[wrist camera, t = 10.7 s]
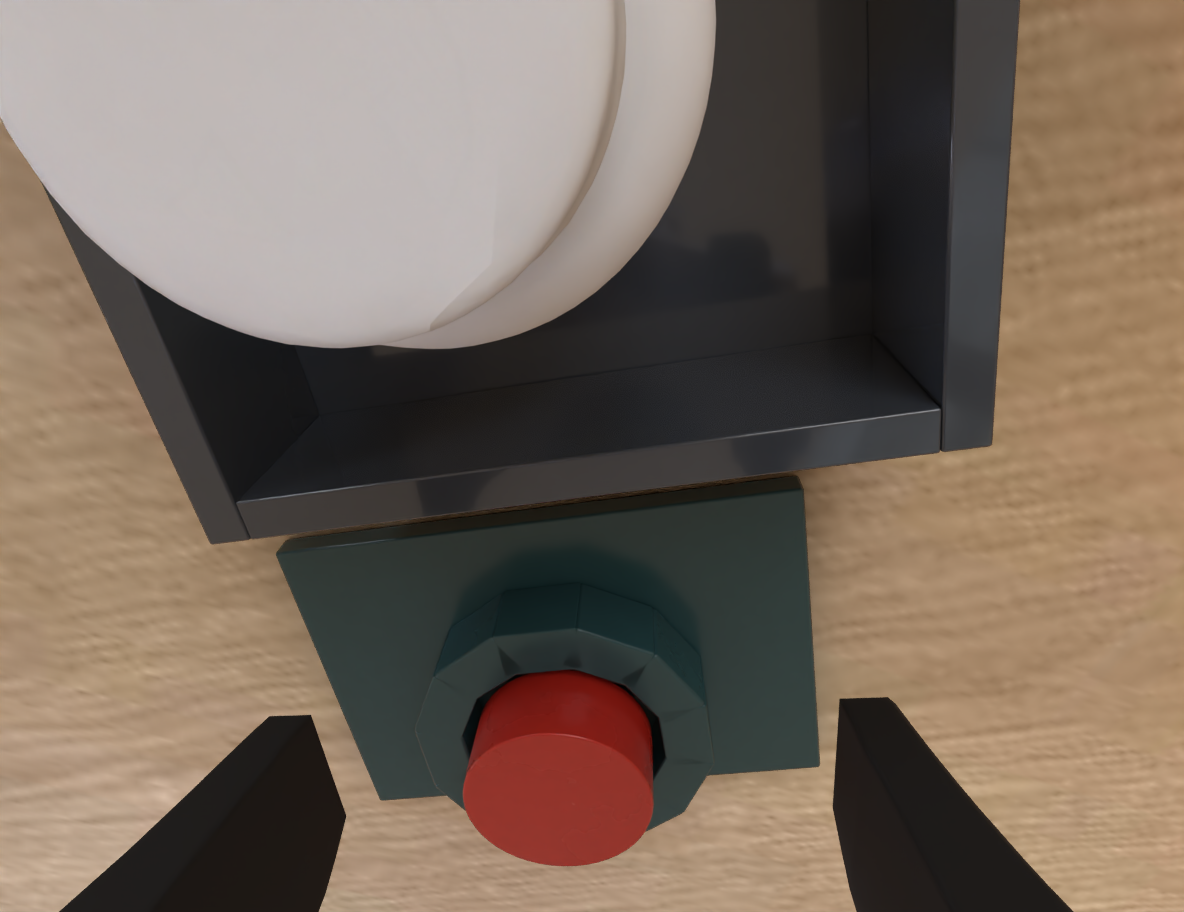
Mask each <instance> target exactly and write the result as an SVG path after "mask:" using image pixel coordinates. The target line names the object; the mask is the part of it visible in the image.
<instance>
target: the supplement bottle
mask: <svg viewBox="0 0 1184 912" xmlns="http://www.w3.org/2000/svg"><path fill="white" fill-rule="evenodd" d="M715 33H716V7H715V0H0V118H1V120H2V122H3V124H4V126H5V128H6V130H7V131H8V133H9V134H10V136H11V137H12V139H13V141H14V142H15V144H16V145H17V147H18V148H19V150H20V151H21V153H22V154H23V156H24V157H25V159H26V160H27V161H28V163H29V164H30V166H31V167H32V169H33V170H34V171H35V173H36V174H37V176H38V177H39V179H40V180H41V182H42V183H43V184H44V186H45V187H46V189H47V190H48V192H49V193H50V194H51V195H52V197H53V198H54V199H55V200H56V201H57V202H58V203H59V205H60V206H61V207H62V208H63V209H64V210H65V212H66V213H67V214H68V215H69V216H70V217H71V218H72V220H73V221H74V222H75V223H76V224H77V225H78V226H79V228H80V229H81V230H82V231H83V232H84V233H85V234H86V235H87V236H88V237H89V238H90V239H91V240H93V241H94V242H95V243H96V244H97V245H98V246H99V247H101V248H102V249H103V250H104V251H105V252H106V253H107V254H108V255H110V256H111V257H112V258H113V259H114V260H115V261H116V262H117V263H119V264H120V265H121V266H122V267H124V268H125V269H126V270H128V271H129V272H130V273H132V274H133V275H134V276H136V277H137V278H139V279H140V280H141V281H143V282H144V283H145V284H147V285H148V286H149V287H151V288H152V289H154V290H156V291H157V292H159V293H160V294H162V295H164V296H165V297H167V298H168V299H170V300H172V301H173V302H175V303H176V304H178V305H180V306H182V307H184V308H186V309H188V310H190V311H192V312H194V313H196V314H198V315H200V316H202V317H204V318H207V319H209V320H211V321H214V322H216V323H219V324H221V325H223V326H226V327H228V328H231V329H234V330H236V331H239V332H242V333H245V334H248V335H252V336H255V337H258V338H262V339H267V340H271V341H276V342H280V343H284V344H290V345H302V346H312V347H321V348H350V347H362V346H373V345H386V346H394V347H403V348H422V349H452V348H460V347H468V346H475V345H479V344H484V343H488V342H493V341H497V340H501V339H504V338H508V337H511V336H515V335H518V334H521V333H523V332H526V331H528V330H531V329H533V328H536V327H538V326H540V325H542V324H544V323H547V322H549V321H551V320H553V319H555V318H557V317H558V316H560V315H562V314H564V313H565V312H567V311H569V310H571V309H572V308H574V307H575V306H577V305H578V304H580V303H581V302H583V301H584V300H585V299H587V298H588V297H590V296H591V295H592V294H594V293H595V292H596V291H598V290H599V289H600V288H601V287H602V286H603V285H604V284H605V283H607V282H608V281H609V280H610V279H611V278H612V277H613V276H614V275H616V274H617V273H618V272H619V271H620V270H621V269H622V268H623V266H624V265H625V264H626V263H627V262H628V261H629V260H630V259H631V258H632V256H633V255H634V254H635V253H636V252H637V251H638V250H639V248H640V247H641V246H642V244H643V243H644V242H645V240H646V239H647V238H648V237H649V235H650V234H651V233H652V231H653V230H654V229H655V227H656V226H657V224H658V223H659V221H660V219H661V218H662V216H663V214H664V213H665V211H666V209H667V208H668V206H669V204H670V202H671V200H672V198H673V196H674V194H675V192H676V190H677V188H678V186H679V184H680V182H681V180H682V178H683V176H684V173H685V171H686V169H687V167H688V165H689V163H690V160H691V157H692V154H693V151H694V148H695V145H696V142H697V139H698V137H699V134H700V130H701V126H702V122H703V119H704V115H705V111H706V107H707V102H708V96H709V90H710V85H711V79H712V71H713V61H714V51H715Z"/></svg>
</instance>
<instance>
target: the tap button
mask: <svg viewBox="0 0 1184 912" xmlns="http://www.w3.org/2000/svg"><path fill="white" fill-rule="evenodd" d="M463 802H464V806H465V809H466V812H467V814H468V817H469V819H470V820H471V822H472V823H473V825H474V826H475V828H476V829H477V830H478V831H479V832H480V833H481V835H483V836H484V837H485V838H486V839H487V840H488V841H489V842H491V843H492V844H494V845H495V846H496V847H498V848H500V849H501V850H503V851H505V852H507V853H509V854H511V855H514V856H516V857H518V858H521V859H524V860H527V861H531V862H535V863H539V864H545V865H552V866H579V865H588V864H592V863H597V862H601V861H604V860H607V859H610V858H612V857H614V856H617V855H619V854H620V853H622V852H624V851H626V850H627V849H628V848H630V847H631V846H632V845H634V844H635V843H636V842H637V841H638V840H639V839H640V838H641V836H642V835H643V834H644V832H645V831H646V829H647V827H648V825H649V823H650V821H651V818H652V814H653V805H654V800H653V752H652V731H651V727H650V723H649V720H648V718H647V716H646V714H645V712H644V710H643V709H642V707H641V706H640V704H639V703H638V702H637V701H636V700H635V699H634V698H633V697H632V696H631V695H630V694H629V693H628V692H626V691H625V690H624V689H622V688H621V687H619V686H618V685H616V684H615V683H613V682H611V681H608V680H605V679H602V678H599V677H596V676H593V675H590V674H587V673H583V672H580V671H575V670H560V671H550V672H539V673H529V674H526V675H523V676H520V677H518V678H516V679H514V680H512V681H510V682H508V683H506V684H505V685H504V686H502V687H501V688H500V689H498V690H497V691H496V692H495V693H494V694H493V695H492V696H491V698H490V699H489V700H488V702H487V703H486V705H485V707H484V708H483V710H482V713H481V716H480V720H479V724H478V728H477V732H476V736H475V740H474V744H473V748H472V752H471V756H470V760H469V764H468V768H467V772H466V776H465V780H464V784H463Z"/></svg>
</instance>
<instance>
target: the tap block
mask: <svg viewBox="0 0 1184 912" xmlns="http://www.w3.org/2000/svg"><path fill="white" fill-rule="evenodd" d="M276 556H277V559H278V561H279V563H280V566H281V568H282V570H283V573H284V575H285V578H286V580H287V582H288V585H289V587H290V589H291V592H292V594H293V596H294V599H295V601H296V603H297V606H298V608H299V610H300V613H301V615H302V617H303V620H304V622H305V624H306V627H307V629H308V632H309V634H310V636H311V639H312V641H313V643H314V646H315V648H316V650H317V653H318V655H319V657H320V660H321V662H322V664H323V667H324V669H325V671H326V674H327V676H328V678H329V681H330V683H331V686H332V688H333V690H334V693H335V695H336V697H337V700H338V702H339V704H340V707H341V709H342V711H343V714H344V716H345V718H346V721H347V723H348V725H349V728H350V730H351V732H352V735H353V737H354V740H355V742H356V744H357V747H358V749H359V751H360V754H361V756H362V758H363V761H364V763H365V765H366V768H367V770H368V772H369V775H370V777H371V779H372V782H373V784H374V787H375V789H376V791H377V794H378V796H379V798H380V800H382V801H383V800H396V799H409V798H422V797H435V796H448V797H449V798H450V799H452V800H453V801H454V802H455V803H457V804H458V805H459V806H460V807H461V808H463V809H464V810H465V811H466V809H465V806H464V802H463V784H464V780H465V776H466V772H467V768H468V764H469V760H470V756H471V752H472V748H473V744H474V740H475V736H476V732H477V728H478V724H479V720H480V716H481V713H482V710H483V708H484V707H485V705H486V703H487V702H488V700H489V699H490V698H491V696H492V695H493V694H494V693H495V692H496V691H497V690H498V689H500V688H501V687H502V686H504V685H505V684H506V683H508V682H510V681H512V680H514V679H516V678H518V677H520V676H523V675H526V674H529V673H539V672H550V671H560V670H575V671H580V672H583V673H587V674H590V675H593V676H596V677H599V678H602V679H605V680H608V681H611V682H613V683H615V684H616V685H618V686H619V687H621V688H622V689H624V690H625V691H626V692H628V693H629V694H630V695H631V696H632V697H633V698H634V699H635V700H636V701H637V702H638V703H639V704H640V706H641V707H642V709H643V710H644V712H645V714H646V716H647V718H648V720H649V723H650V727H651V731H652V752H653V800H654V805H653V814H652V818H651V821H650V823H649V825H648V827H647V829H646V831H648V830H650V829H652V828H654V827H656V826H658V825H660V824H662V823H664V822H666V821H668V820H670V819H672V818H674V817H676V816H678V815H680V814H682V812H684V811H685V810H686V808H687V807H688V805H689V803H690V802H691V800H692V799H693V797H694V795H695V794H696V792H697V791H698V789H699V787H700V786H701V784H702V783H703V781H704V780H705V778H706V776H708V775H721V774H734V773H747V772H760V771H773V770H786V769H799V768H812V767H819V766H820V754H819V737H818V720H817V703H816V687H815V670H814V653H813V636H812V619H811V602H810V586H809V569H808V552H807V535H806V518H805V501H804V489H803V487H802V484H801V482H800V479H799V478H798V477H797V476H792V477H784V478H776V479H768V480H760V481H752V482H744V483H736V484H728V485H720V486H712V487H704V488H696V489H688V490H680V491H672V492H664V493H656V494H648V495H640V496H632V497H624V498H616V499H608V500H600V501H592V502H584V503H576V504H568V505H560V506H552V507H544V508H536V509H528V510H520V511H512V512H504V513H496V514H488V515H480V516H472V517H464V518H456V519H448V520H440V521H432V522H424V523H416V524H408V525H400V526H392V527H384V528H377V529H369V530H361V531H353V532H345V533H337V534H329V535H321V536H313V537H305V538H297V539H289V540H286V541H285V542H284V543H283V545H282V546H281V547H280V549H279V550H278V551H277V553H276ZM646 831H645V832H646Z"/></svg>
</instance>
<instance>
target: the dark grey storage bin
mask: <svg viewBox="0 0 1184 912" xmlns="http://www.w3.org/2000/svg"><path fill="white" fill-rule="evenodd" d="M715 7H716V33H715V51H714V61H713V71H712V79H711V85H710V90H709V96H708V102H707V107H706V111H705V115H704V119H703V122H702V126H701V130H700V134H699V137H698V139H697V142H696V145H695V148H694V151H693V154H692V157H691V160H690V163H689V165H688V167H687V169H686V171H685V173H684V176H683V178H682V180H681V182H680V184H679V186H678V188H677V190H676V192H675V194H674V196H673V198H672V200H671V202H670V204H669V206H668V208H667V209H666V211H665V213H664V214H663V216H662V218H661V219H660V221H659V223H658V224H657V226H656V227H655V229H654V230H653V231H652V233H651V234H650V235H649V237H648V238H647V239H646V240H645V242H644V243H643V244H642V246H641V247H640V248H639V250H638V251H637V252H636V253H635V254H634V255H633V256H632V258H631V259H630V260H629V261H628V262H627V263H626V264H625V265H624V266H623V268H622V269H621V270H620V271H619V272H618V273H617V274H616V275H614V276H613V277H612V278H611V279H610V280H609V281H608V282H607V283H605V284H604V285H603V286H602V287H601V288H600V289H599V290H598V291H596V292H595V293H594V294H592V295H591V296H590V297H588V298H587V299H585V300H584V301H583V302H581V303H580V304H578V305H577V306H575V307H574V308H572V309H571V310H569V311H567V312H565V313H564V314H562V315H560V316H558V317H557V318H555V319H553V320H551V321H549V322H547V323H544V324H542V325H540V326H538V327H536V328H533V329H531V330H528V331H526V332H523V333H521V334H518V335H515V336H511V337H508V338H504V339H501V340H497V341H493V342H488V343H484V344H479V345H475V346H468V347H460V348H452V349H422V348H403V347H394V346H386V345H373V346H362V347H350V348H321V347H312V346H302V345H290V344H284V343H280V342H276V341H271V340H267V339H262V338H258V337H255V336H252V335H248V334H245V333H242V332H239V331H236V330H234V329H231V328H228V327H226V326H223V325H221V324H219V323H216V322H214V321H211V320H209V319H207V318H204V317H202V316H200V315H198V314H196V313H194V312H192V311H190V310H188V309H186V308H184V307H182V306H180V305H178V304H176V303H175V302H173V301H172V300H170V299H168V298H167V297H165V296H164V295H162V294H160V293H159V292H157V291H156V290H154V289H152V288H151V287H149V286H148V285H147V284H145V283H144V282H143V281H141V280H140V279H139V278H137V277H136V276H134V275H133V274H132V273H130V272H129V271H128V270H126V269H125V268H124V267H122V266H121V265H120V264H119V263H117V262H116V261H115V260H114V259H113V258H112V257H111V256H110V255H108V254H107V253H106V252H105V251H104V250H103V249H102V248H101V247H99V246H98V245H97V244H96V243H95V242H94V241H93V240H91V239H90V238H89V237H88V236H87V235H86V234H85V233H84V232H83V231H82V230H81V229H80V228H79V226H78V225H77V224H76V223H75V222H74V221H73V220H72V218H71V217H70V216H69V215H68V214H67V213H66V212H65V210H64V209H63V208H62V207H61V206H60V205H59V203H58V202H57V201H56V200H55V199H54V198H53V197H52V195H51V194H50V193H49V192H48V190H47V189H46V187H45V186H44V184H43V183H42V182H41V183H42V185H43V187H44V189H45V191H46V193H47V195H48V198H49V200H50V202H51V204H52V206H53V208H54V210H55V213H56V215H57V217H58V219H59V221H60V223H61V225H62V227H63V230H64V232H65V234H66V236H67V238H68V240H69V242H70V245H71V247H72V249H73V251H74V253H75V255H76V257H77V260H78V262H79V264H80V266H81V268H82V270H83V272H84V275H85V277H86V279H87V281H88V283H89V285H90V287H91V290H92V292H93V294H94V296H95V298H96V300H97V302H98V305H99V307H100V309H101V311H102V313H103V315H104V317H105V319H106V322H107V324H108V326H109V328H110V330H111V332H112V334H113V337H114V339H115V341H116V343H117V345H118V347H119V349H120V352H121V354H122V356H123V358H124V360H125V362H126V364H127V367H128V369H129V371H130V373H131V375H132V377H133V379H134V382H135V384H136V386H137V388H138V390H139V392H140V394H141V397H142V399H143V401H144V403H145V405H146V407H147V409H148V411H149V414H150V416H151V418H152V420H153V422H154V424H155V426H156V429H157V431H158V433H159V435H160V437H161V439H162V441H163V444H164V446H165V448H166V450H167V452H168V454H169V456H170V459H171V461H172V463H173V465H174V467H175V469H176V471H177V474H178V476H179V478H180V480H181V482H182V484H183V486H184V489H185V491H186V493H187V495H188V497H189V499H190V501H191V503H192V506H193V508H194V510H195V512H196V514H197V516H198V518H199V521H200V523H201V525H202V527H203V529H204V531H205V533H206V536H207V538H208V540H209V542H210V543H211V544H220V543H228V542H236V541H244V540H249V539H260V538H267V537H275V536H283V535H291V534H299V533H307V532H315V531H323V530H331V529H339V528H347V527H355V526H363V525H371V524H379V523H387V522H394V521H402V520H410V519H418V518H426V517H434V516H442V515H450V514H458V513H466V512H474V511H482V510H490V509H498V508H506V507H513V506H521V505H529V504H537V503H545V502H553V501H561V500H569V499H577V498H585V497H593V496H601V495H609V494H617V493H625V492H632V491H640V490H648V489H656V488H664V487H672V486H680V485H688V484H696V483H704V482H712V481H720V480H728V479H736V478H744V477H751V476H759V475H767V474H775V473H783V472H791V471H799V470H807V469H815V468H823V467H831V466H839V465H847V464H855V463H863V462H870V461H878V460H886V459H894V458H902V457H910V456H918V455H926V454H934V453H939V452H940V450H941V451H942V452H948V451H956V450H964V449H972V448H980V447H988V446H991V445H992V438H993V422H994V407H995V391H996V375H997V359H998V343H999V327H1000V311H1001V295H1002V279H1003V264H1004V248H1005V232H1006V216H1007V200H1008V184H1009V168H1010V152H1011V136H1012V120H1013V105H1014V89H1015V73H1016V57H1017V41H1018V25H1019V9H1020V0H715Z"/></svg>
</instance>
